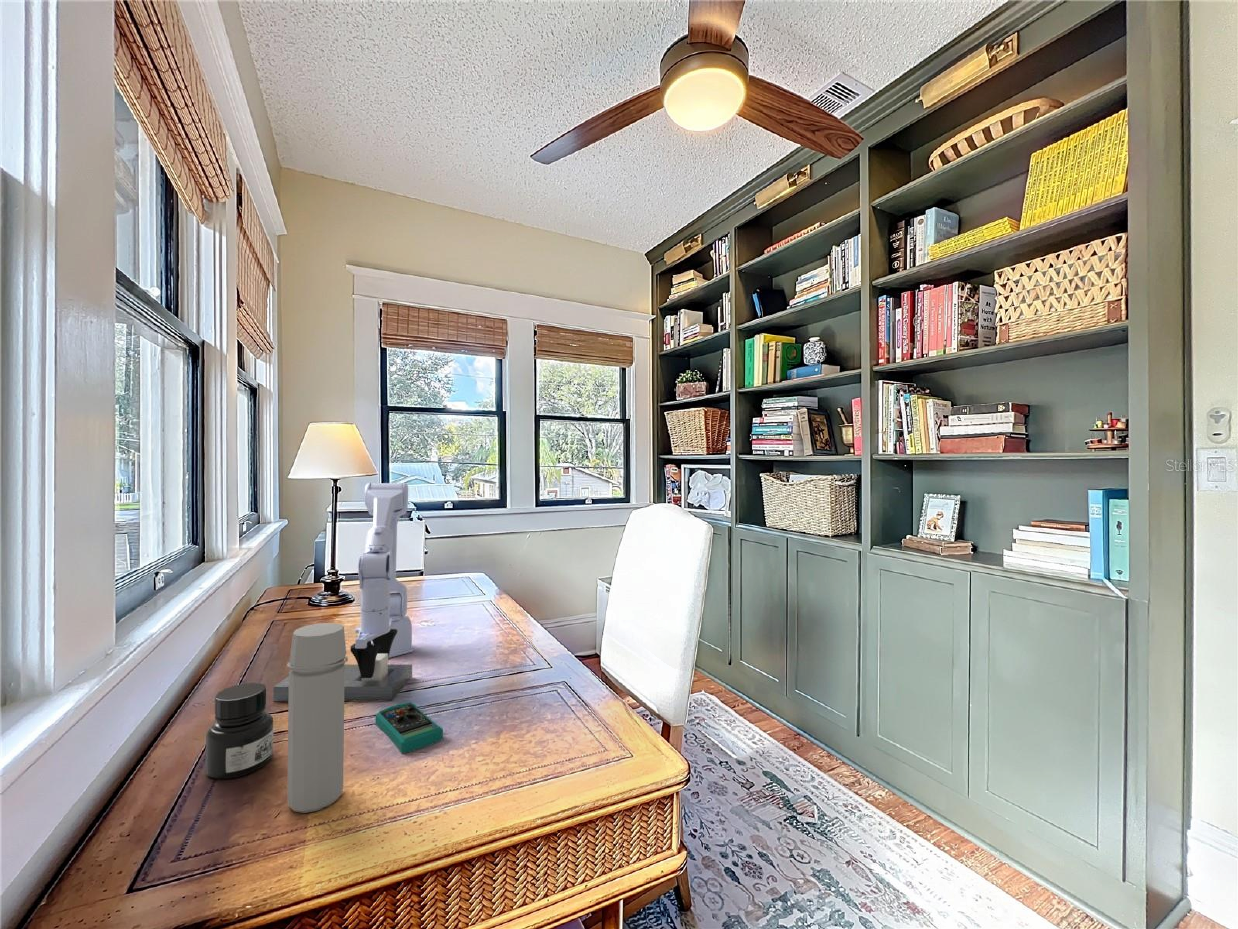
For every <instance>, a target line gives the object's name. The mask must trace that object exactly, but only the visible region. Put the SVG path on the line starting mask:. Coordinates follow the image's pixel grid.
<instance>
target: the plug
mask: <svg viewBox="0 0 1238 929" xmlns="http://www.w3.org/2000/svg"><path fill="white" fill-rule="evenodd" d="M388 664H389V658H388V654H377V656H376V660H375V667H374V673H373V677H372V678H361V681H384V680H385V679H386V678H387V677H388Z"/></svg>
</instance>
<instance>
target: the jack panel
mask: <svg viewBox="0 0 1238 929" xmlns="http://www.w3.org/2000/svg"><path fill="white" fill-rule="evenodd" d="M412 678H413V664H411V663H410V664H409V663H408V664H395V663H394V664H392V663H391V664H389V663H388V677H387V678H386V679H385V680H384V681H361V674H360V671H359V667H358V664H345V678H344V702H381V701H382V702H392V701H393V700H394V699H395V698H396V697H397V696H398V694H400V692H402V690H403V689H404V688H405V687H406V685H407V684H408V683H409V682H410V681H411V679H412ZM288 701H289V676H287V677H285V678H284V679H282V680H281V681H280V682H278V683H277V684H275V685H274V686H273V702H288Z"/></svg>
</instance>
